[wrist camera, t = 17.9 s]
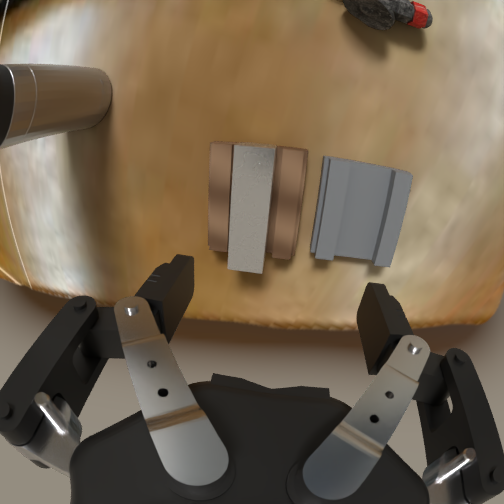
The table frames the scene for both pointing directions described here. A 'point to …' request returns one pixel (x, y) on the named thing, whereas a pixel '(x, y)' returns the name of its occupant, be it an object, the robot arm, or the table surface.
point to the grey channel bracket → (359, 210)
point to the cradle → (282, 204)
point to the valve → (389, 13)
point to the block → (250, 205)
